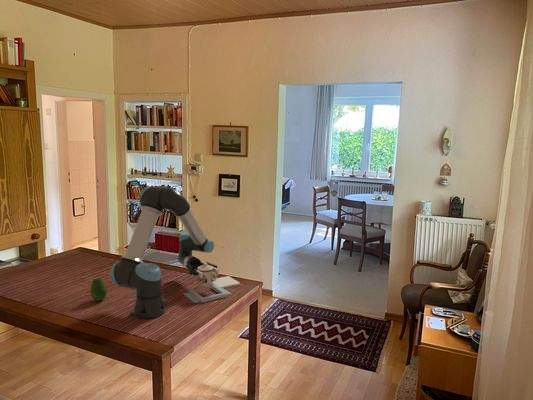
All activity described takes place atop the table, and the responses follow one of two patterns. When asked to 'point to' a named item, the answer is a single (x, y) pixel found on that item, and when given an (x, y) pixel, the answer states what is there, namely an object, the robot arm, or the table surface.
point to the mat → (225, 282)
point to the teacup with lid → (206, 275)
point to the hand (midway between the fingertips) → (210, 274)
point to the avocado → (98, 289)
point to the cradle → (197, 298)
